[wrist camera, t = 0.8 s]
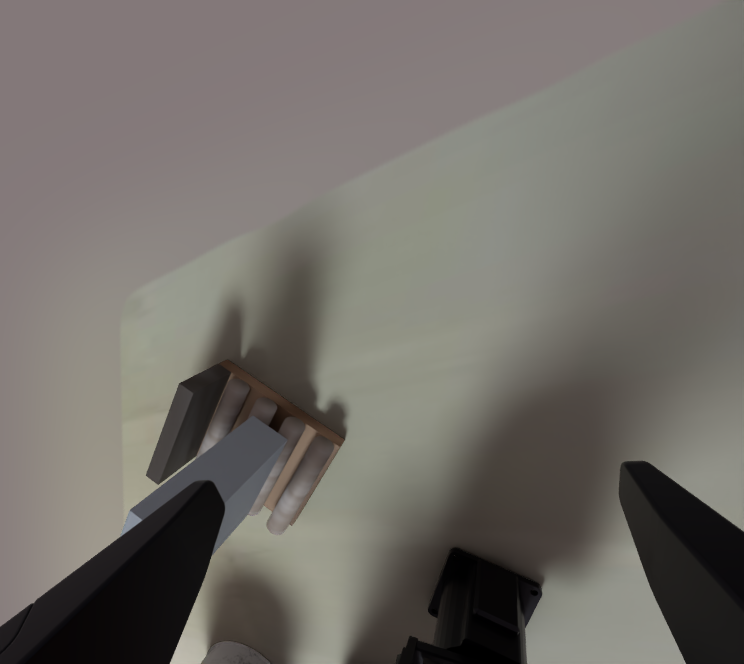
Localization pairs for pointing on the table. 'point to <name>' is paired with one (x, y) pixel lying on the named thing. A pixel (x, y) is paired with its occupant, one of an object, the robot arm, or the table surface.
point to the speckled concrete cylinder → (233, 654)
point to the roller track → (227, 412)
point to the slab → (224, 475)
